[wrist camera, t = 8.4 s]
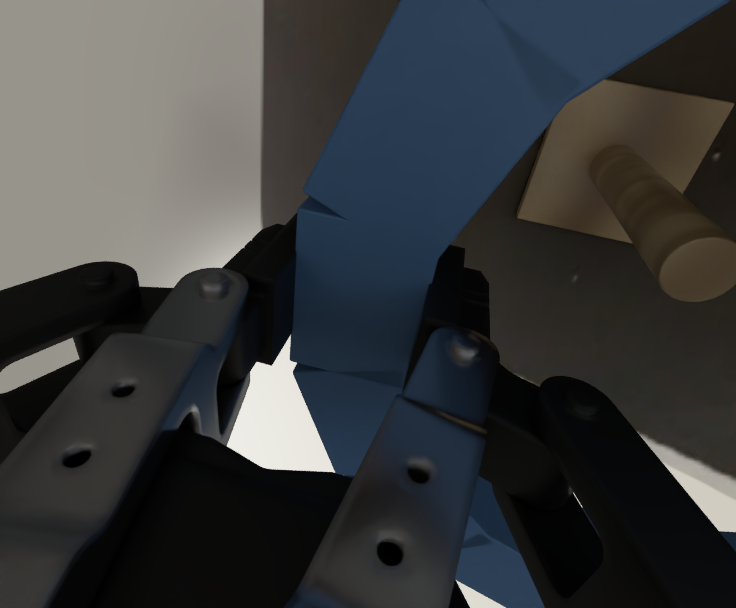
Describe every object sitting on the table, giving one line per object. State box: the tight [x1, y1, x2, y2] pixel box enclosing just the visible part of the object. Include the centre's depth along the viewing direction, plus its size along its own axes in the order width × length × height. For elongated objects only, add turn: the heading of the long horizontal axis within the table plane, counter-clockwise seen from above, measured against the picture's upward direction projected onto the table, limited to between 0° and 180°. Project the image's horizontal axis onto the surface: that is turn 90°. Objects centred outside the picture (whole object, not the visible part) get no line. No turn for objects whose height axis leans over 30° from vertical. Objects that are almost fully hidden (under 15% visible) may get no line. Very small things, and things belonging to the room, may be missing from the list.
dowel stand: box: [516, 79, 736, 302], centre depth 19 cm, size 8×8×13 cm
